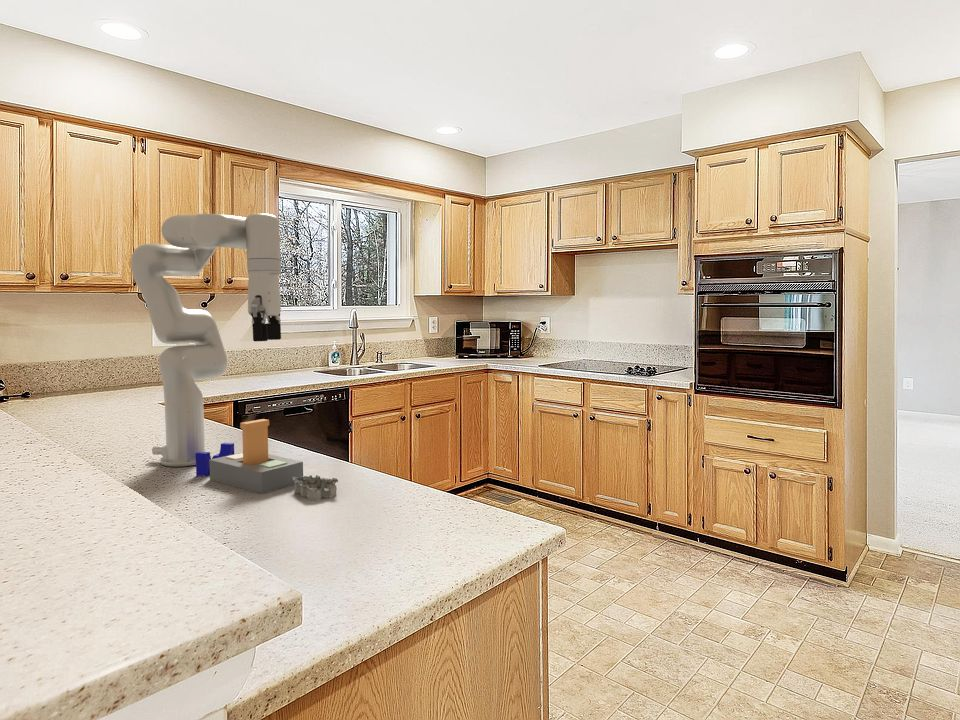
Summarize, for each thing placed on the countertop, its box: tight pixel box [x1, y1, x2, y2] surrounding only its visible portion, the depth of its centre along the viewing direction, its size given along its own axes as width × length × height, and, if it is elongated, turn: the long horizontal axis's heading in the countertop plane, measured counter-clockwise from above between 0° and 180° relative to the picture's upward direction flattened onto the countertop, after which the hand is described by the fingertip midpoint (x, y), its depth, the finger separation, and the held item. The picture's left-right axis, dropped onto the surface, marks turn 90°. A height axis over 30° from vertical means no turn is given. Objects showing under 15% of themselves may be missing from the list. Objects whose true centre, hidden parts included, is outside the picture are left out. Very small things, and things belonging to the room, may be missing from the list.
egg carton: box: [293, 474, 339, 501], centre depth 144 cm, size 11×8×4 cm
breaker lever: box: [239, 418, 270, 465], centre depth 153 cm, size 2×6×12 cm, turn 146°
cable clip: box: [195, 442, 235, 477], centre depth 164 cm, size 12×4×6 cm, turn 168°
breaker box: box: [209, 451, 304, 495], centre depth 154 cm, size 20×12×5 cm, turn 56°
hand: (267, 340), depth 150 cm, fingers open, 9 cm apart
